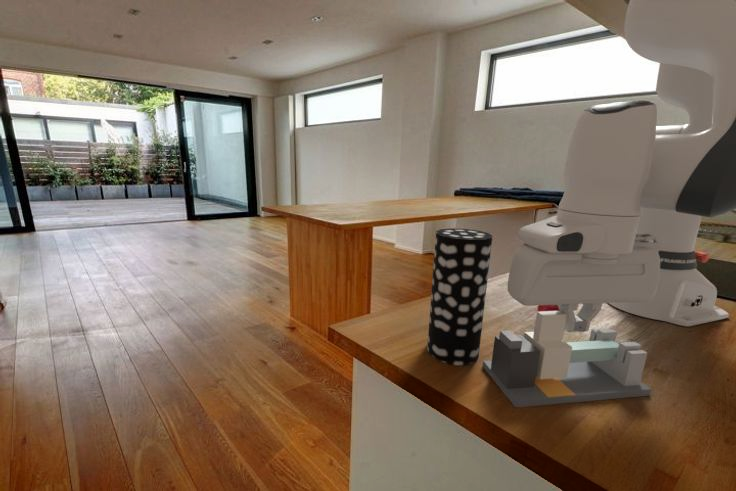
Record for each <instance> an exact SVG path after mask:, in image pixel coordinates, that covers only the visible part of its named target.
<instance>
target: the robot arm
mask: <svg viewBox="0 0 736 491" xmlns="http://www.w3.org/2000/svg"><path fill="white" fill-rule="evenodd" d="M623 1H624V3H625V4H626V5H627V10H626V13H625V20H624V29H623V35H624V39H625V41H626V43H627V44H628V46H629V47H630V49H631V51H633V52H634V53H635V54H637V55H639V56H640V57H642V58H643V59H646V60H648V61H651V62H654V63H659V68H658V73H657V79H656V86H655V92H656V94H657V97H658V98H659V99H660V100H661V101H663V102H665V103H667V104H669V105H672V106H674V107H678V108H680V109H682V110H685V111H686V112H687V114H688V116H689V123H685V124H670V125H657V121H658V119H657V118H658V115H657V114H658V110H657V109H658V107H657V104H656V103H654V102H651V101H649V100H631V101H630V100H629V101H618V102H609V103H599V104H594V105H591V106H589V107H587V108H585V109H583V110H582V111H581V112H580V113H579V116H578V118H577V121H576V123H575V126H574V129H573V132H572V136H571V138H570V141H569V142H570V143H569V146H568V150H567V153H566V155H567V156H566V161H565V164H564V171H563V182H564V191H563V196H562V197H561V199H560V202H559V204H558V207H557V214H556V215H553V216H550V217H547V218H546V219H542V220H539V221H536V222H533V223H530V224H527V225H525V226H522V227H521V228H520V229H519V231H518V240H519V242H521V243H523V244H522V245H520V246H518V248H517V249H516V250H515V252H514V254H513V256H512V260H511V264H510V268H509V273H508V279H507V292H508V293H509V295H510V296H511V298H512V299H514V300H515V301H516V302H518V303H519V304H521V305H522V306H525V307H526V306H527V307H530V306H538V305H558V307H559V310H560V311H562V312H564V313H565V314H567V317H566V323H565V328H564V332H567V333H582V332H583V333H584V332H589V330H590V325H591V322H592V321H593V320H594V319H595V317H596V316H597V315H598V314H599V313H600V311H601V310H602V307H603V304H605V303H607V304H609V305H611V306H612V307H614V308H617V309H619V310H621V311H623V312H626V313H629V314H633V315H636V316H639V317H643V318H645V319H646V318H647V319H652V320H656V321H662V322H667V323H670V324H674V325H677V326H683V327H692V326H697V325H702V324H707V323H711V322H716V321H720V320H724V319H728V318H729V316H730V312H729V313H728V311H726V310H725V309H723V308H720V307H718V306H716V301H717V295H718V290H717V287H716V286H715V285H714V284H713V283H712V282H710V280H708V279H707V278H706V277H705V276H704V275H703V274H702V273H701V272H700V271H699V270H698V269H697V268H698V265H697V261H698V262H701V263H707V262H708V261H709V260H710V257H711V256H710V253H707V252H702V251H699V250H697V251H695V250H694V249H695V245H696V243H697V242H696V241H697V237H698V234H699V230H700V225H701V223H702V217H706V218H714V217H717V216H721V215H724V214H727V213H729V212H731V211H734V210H736V0H623ZM580 304H581V305H582V307H581V308H580V309H579V311H578V308H579V305H580ZM574 311H576V312H577V311H578V313H577V314H576V315H575V312H574Z"/></svg>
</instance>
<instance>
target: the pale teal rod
mask: <svg viewBox="0 0 736 491" xmlns="http://www.w3.org/2000/svg"><path fill="white" fill-rule="evenodd" d="M566 343H567V344H569V345H570V346H571V347H572V352H571V357H570V363H576V362H590V361H604V360H613V357H616V356H617V351H618V347H619V343H618V342H616V341H615V342H614V341H612V340H600V341H589V340H587V341H586V340H585V341H571V342H570V341H569V342H568V341H567V342H566Z"/></svg>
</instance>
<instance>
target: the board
mask: <svg viewBox="0 0 736 491" xmlns="http://www.w3.org/2000/svg"><path fill="white" fill-rule="evenodd" d="M491 363H492V359H491V360H483V361H482V368H483V370H485V372H486V373H487V374H488V375H489V376H490V377H491V379H492V380H493V381H494V382H495V384H496V386H498V388H499V389H500V390H501V391H502V393H503V394H504V395H505V396H506V397H507V399H508V400H509V401H510V402H511V404H512V405H513V407H515V408H526V407H537V406H545V405H547V406H548V405H557V404H558V405H560V404H569V403H571V404H572V403H581V402H592V401H602V400H614V399H624V398H625V399H626V398H635V397H638V398H639V397H646V396H647V397H648V396H649V397H650V396H651V393H652V392H651V391H652V388H650V387H649V386H648V385H646V384H644V383H643V382H642V381H640V385H633V386H624V385H622V384H621V383H619V382H618V381H617V380H615V379H614V378H613V377H611V376H610V375H608V374H607V373H606V372H604V371H603V370H602V369H600V368H599V367H598V366H596V365H595V364H593V363H592V362H591V361H590V362H576V363H569V368H568V373H567V377H565V378H552V379H539V378H538V377H537V376H536V378H535V384H534V387H528V388H515V389H506V388H505V386H504V385H503V384H502V383H501V382H500V380H499V379H498V378H497V377H496V376H495V374H494V373H493V372H492V371H491Z"/></svg>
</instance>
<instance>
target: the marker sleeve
mask: <svg viewBox="0 0 736 491" xmlns="http://www.w3.org/2000/svg"><path fill="white" fill-rule="evenodd" d="M566 317H567V314H565V313H564V312H562V311H540V312H538V311H536V317H535V322H534V323H535V325H534V331H525V332H524V333H523V334H524V335H523V337H524V338H525V339H527V340H528V341H529V342H530V343H531V344H532V345H534V346H535V347H536V348H537V349H538V350H540V354H539V360H538V366H537V372H536V376H537V377H538V378H539V379H552V378H565V377H567V373H568V368H569V363H570V357H571V352H572V347H571V346H570V345H569V344H567V342H566V341H565V340H563V339H564V338H563V337H564V332H565V330H564V328H565V323H566Z"/></svg>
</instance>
